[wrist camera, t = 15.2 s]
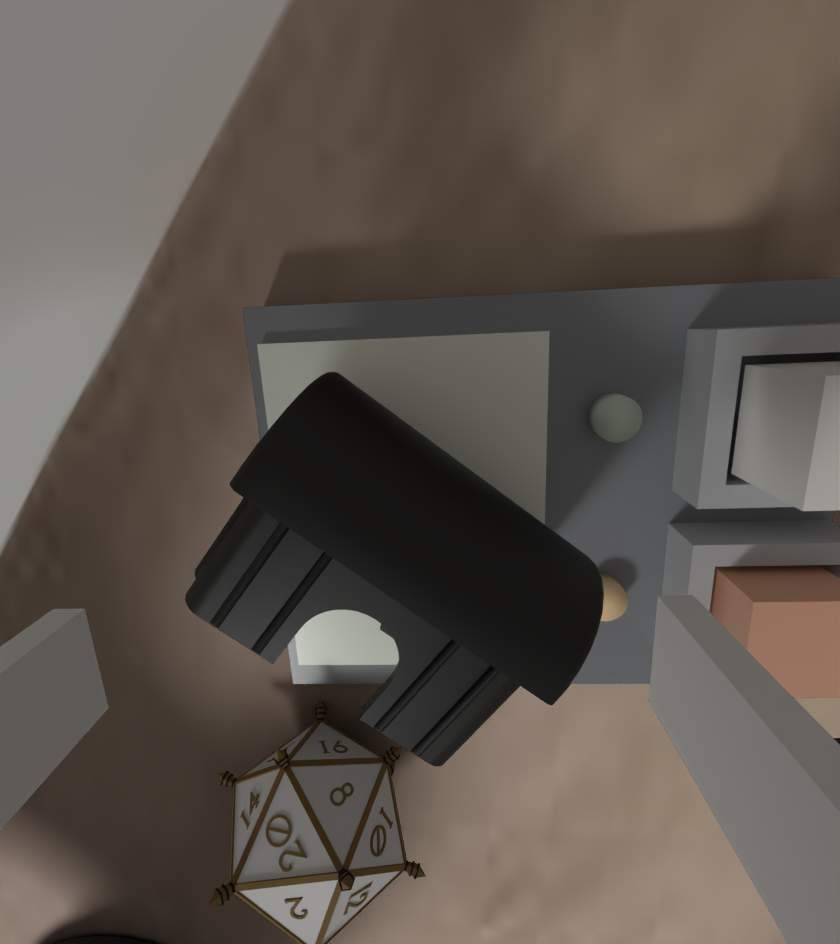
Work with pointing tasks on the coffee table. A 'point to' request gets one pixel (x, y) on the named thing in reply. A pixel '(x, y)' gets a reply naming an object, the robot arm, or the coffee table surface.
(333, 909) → the game die
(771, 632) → the terracotta switch
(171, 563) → the coffee table surface
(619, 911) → the coffee table surface
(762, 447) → the off-white switch
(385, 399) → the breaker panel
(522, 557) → the end cap
